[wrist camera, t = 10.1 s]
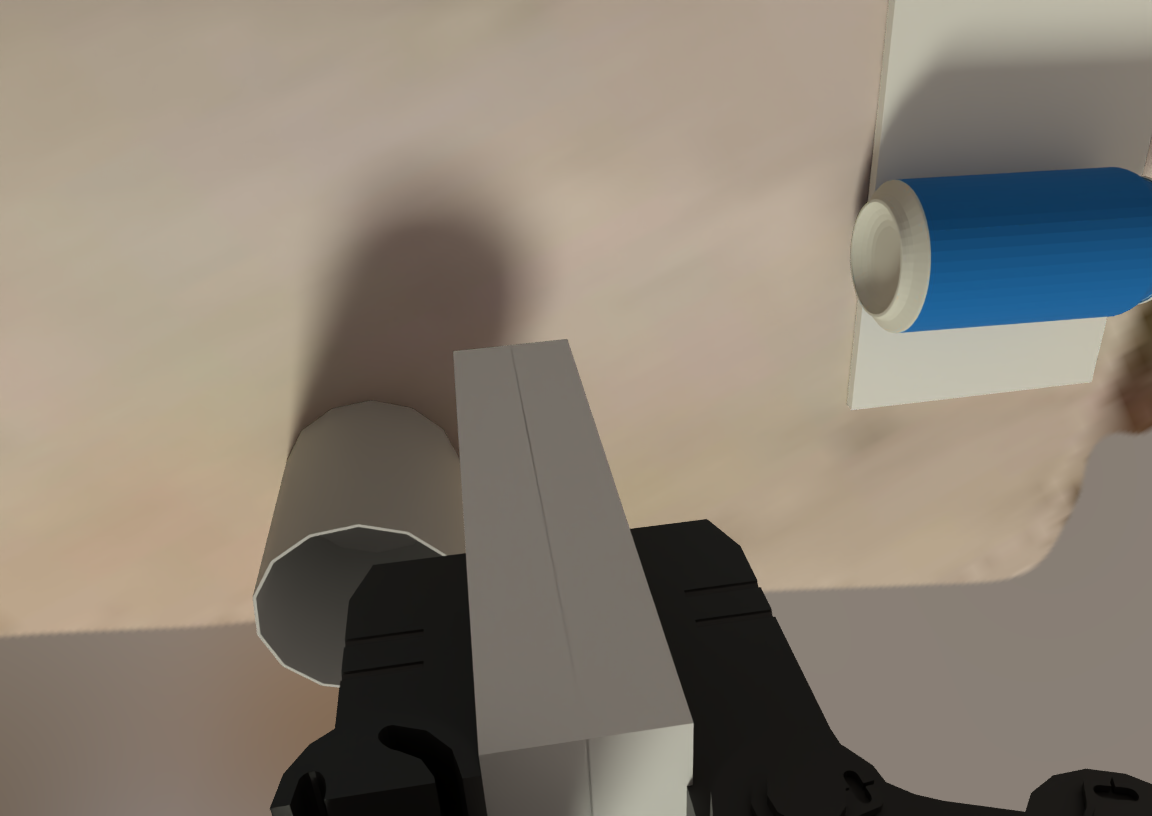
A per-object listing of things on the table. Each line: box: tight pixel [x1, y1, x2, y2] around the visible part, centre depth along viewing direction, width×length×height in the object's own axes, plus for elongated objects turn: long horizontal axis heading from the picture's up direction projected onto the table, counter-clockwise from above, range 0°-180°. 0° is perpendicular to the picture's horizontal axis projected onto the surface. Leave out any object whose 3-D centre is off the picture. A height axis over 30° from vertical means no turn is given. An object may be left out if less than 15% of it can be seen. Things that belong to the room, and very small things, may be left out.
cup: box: [253, 400, 466, 687], centre depth 41 cm, size 8×8×10 cm
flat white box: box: [847, 0, 1152, 410], centre depth 42 cm, size 22×13×1 cm, turn 3°
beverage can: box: [850, 167, 1152, 333], centre depth 40 cm, size 6×6×12 cm
